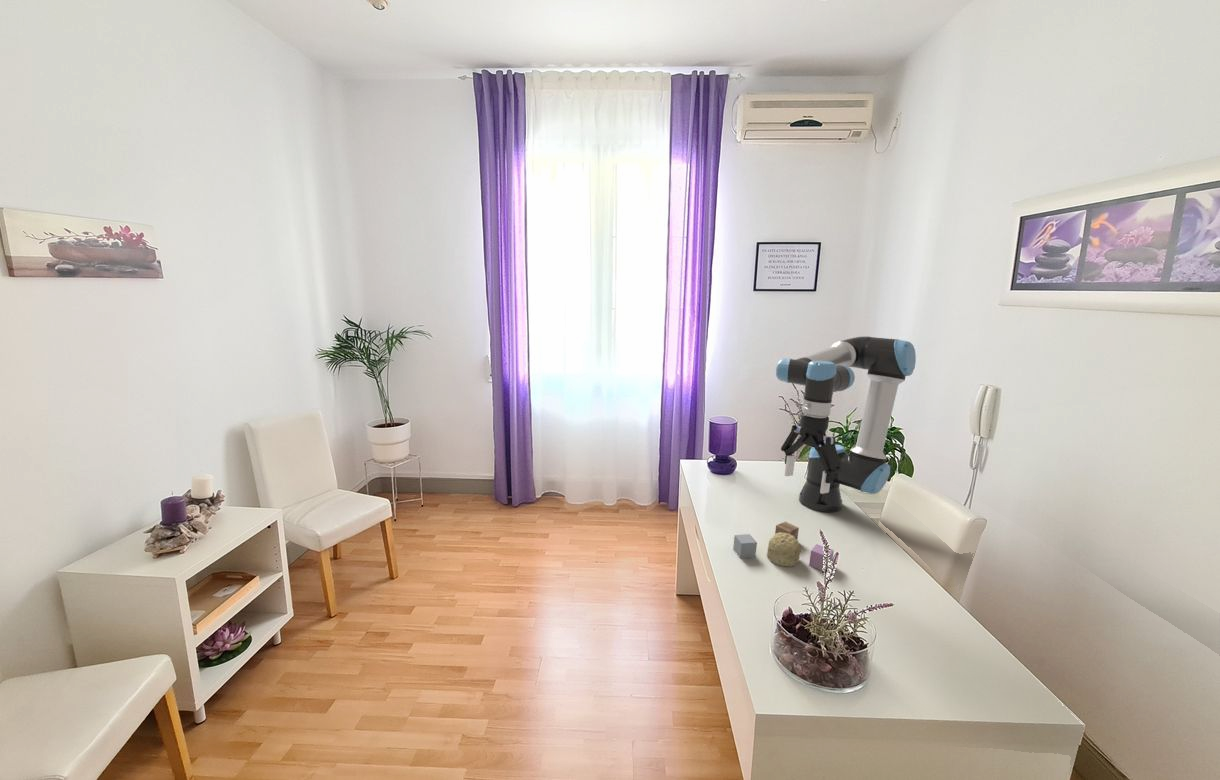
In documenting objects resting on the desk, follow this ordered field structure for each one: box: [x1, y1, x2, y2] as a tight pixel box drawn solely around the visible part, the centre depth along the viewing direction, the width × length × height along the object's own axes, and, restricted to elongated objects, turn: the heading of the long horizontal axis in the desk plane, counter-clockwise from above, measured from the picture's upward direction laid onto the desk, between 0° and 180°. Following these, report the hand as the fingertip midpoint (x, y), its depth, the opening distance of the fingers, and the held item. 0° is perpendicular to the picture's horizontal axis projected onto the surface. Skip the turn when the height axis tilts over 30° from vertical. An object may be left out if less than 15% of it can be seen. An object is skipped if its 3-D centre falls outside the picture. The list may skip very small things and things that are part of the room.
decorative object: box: [766, 532, 801, 568], centre depth 149 cm, size 9×10×10 cm
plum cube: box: [808, 543, 835, 571], centre depth 147 cm, size 5×5×5 cm
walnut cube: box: [774, 521, 800, 540], centre depth 160 cm, size 5×5×5 cm
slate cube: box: [732, 533, 758, 559], centre depth 152 cm, size 5×5×5 cm
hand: (805, 483), depth 147 cm, fingers open, 13 cm apart
